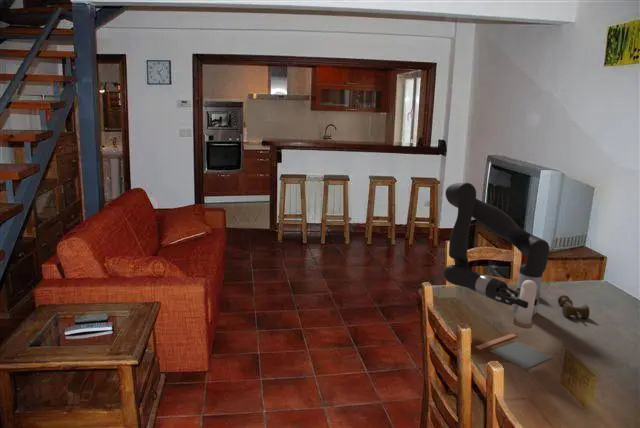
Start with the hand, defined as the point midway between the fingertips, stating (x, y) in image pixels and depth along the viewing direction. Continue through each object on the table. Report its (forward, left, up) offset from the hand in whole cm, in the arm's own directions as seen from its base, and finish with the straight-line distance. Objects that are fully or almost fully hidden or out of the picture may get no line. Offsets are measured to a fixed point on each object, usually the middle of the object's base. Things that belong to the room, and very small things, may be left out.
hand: (532, 304), depth 181 cm
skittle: (0, -2, -8) cm, 9 cm away
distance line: (-1, -12, -20) cm, 23 cm away
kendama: (-55, -13, -20) cm, 60 cm away
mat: (0, -1, -20) cm, 20 cm away
